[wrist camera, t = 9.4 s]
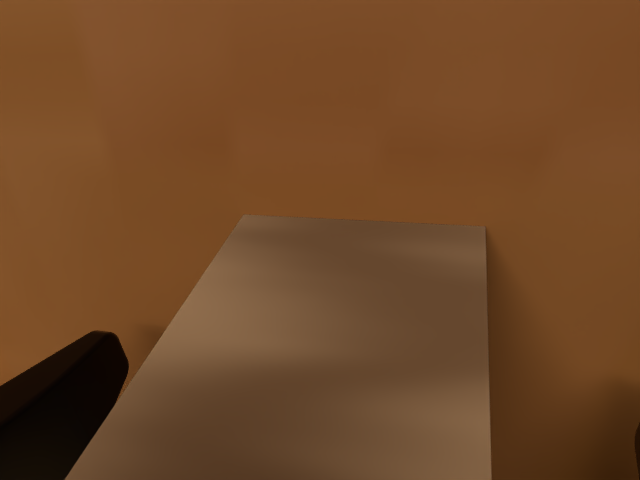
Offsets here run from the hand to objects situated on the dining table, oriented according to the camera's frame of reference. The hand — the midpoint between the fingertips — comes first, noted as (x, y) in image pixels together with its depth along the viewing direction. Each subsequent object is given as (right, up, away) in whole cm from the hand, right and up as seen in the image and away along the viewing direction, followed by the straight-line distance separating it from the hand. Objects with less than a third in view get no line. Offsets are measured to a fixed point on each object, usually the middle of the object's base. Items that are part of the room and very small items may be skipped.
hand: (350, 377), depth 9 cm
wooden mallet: (+1, -7, +6) cm, 9 cm away
